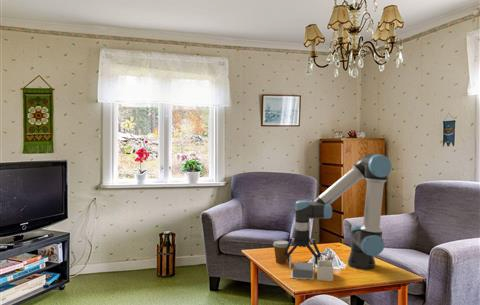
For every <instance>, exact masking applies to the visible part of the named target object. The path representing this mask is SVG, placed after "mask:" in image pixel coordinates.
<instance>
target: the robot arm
mask: <svg viewBox="0 0 480 305" xmlns="http://www.w3.org/2000/svg"><path fill="white" fill-rule="evenodd" d="M391 171H392V162H391V160H390V158H388V157H387V156H386V155H383V154H379V153H378V154H377V153H368V154H365V155H364V156H362V157H361V158H360V159H359V160H358V161H356V162H355V163H354V164H353V165H351V169H350V170H348V171H347V172H346V173H345V174H344V175H342V176H341V177H340V178H339V179H338V180H337V181H335V182H334V183H333V184H331V186H329V187H328V188H327V189H326V190H325V191H323V192H322V193H321V194H320V195H318V196H317V197H316V198H315V199H311V200H310V201H309V200H304V199H303V200H302V199H301V200H297V201H295V207H294V211H295V215H294V217H295V218H294V219H295V222H294V224H295V226H294V227H295V233H294V235H295V236H294V238H293V237H289V239H288V240H289V241H288V242H289V244H288V246H287V248H286V250H285V252H284V255H286V256H287V263H288V269H289V270H292V269H291V268H292V255H291V254H292V253H293V252H294V251H295V250H296V249H297V248H298V247H299V248H307V249H308V250H309V252H310V253H311V254H312V255H313V269H314V270H315V271H316V265H317V263H318V258H321V256H322V254H321V252H320V250H319V247H318V246H317V243H316V239H315V238H310V219H324V220H325V219H331V218H332V217H333V208H332V207H333V206H332V204H333V202H335V201H336V200H338V199H339V197H341V196H342V195H343V194H345V192H347V191H348V190H349V189H350V188H351V187H353V186H354V185H355V184H356V183H357V182H359V181H360V180H366V190H365V202H364V211H363V223H362V224H359V225H352V226H351V228H350V253H349V256H348V260H347V265H348V266H349V267H351V268H354V269H359V270H370V269H374V268H375V267H376V260H375V257H374V256H378V255H380V254H381V253H382V252H383V251H384V248H385V242H384V239H383V230H382V228H381V218H382V208H383V207H382V205H383V195H384V187H385V186H384V185H385V183H386V182H387V181H388V176H389V174H390V173H391ZM294 242H295V244H294V245H293V247H292V248H291V249H290V247H291V245H292V243H294ZM310 242H311V244H312V245H313V247H314V248H312V246H311V245H310ZM289 249H290V251H289ZM287 251H288V253H287Z"/></svg>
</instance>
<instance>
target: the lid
mask: <svg viewBox="0 0 480 305" xmlns="http://www.w3.org/2000/svg"><path fill="white" fill-rule="evenodd" d="M292 266H293V267H292V270H293V277H302V278H312V273H313V269H314V262H301V261H299V262H298V261H295V262H294V263H293V265H292Z"/></svg>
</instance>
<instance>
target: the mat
mask: <svg viewBox="0 0 480 305" xmlns="http://www.w3.org/2000/svg"><path fill="white" fill-rule="evenodd" d="M291 270H292V271H291V274H290V279H291V278H295V279H294V280H306V279H311V280H310V281H313V280H315V272H314V271H316V269H315V270H314V268H313V273H312V278H302V277H293V269H291Z"/></svg>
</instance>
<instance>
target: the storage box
mask: <svg viewBox="0 0 480 305" xmlns="http://www.w3.org/2000/svg"><path fill="white" fill-rule="evenodd" d="M316 265H317V266H316V280H317V281H327V282H328V281H329V282H334V260H322V259H321V260H319V259H317V264H316Z"/></svg>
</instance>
